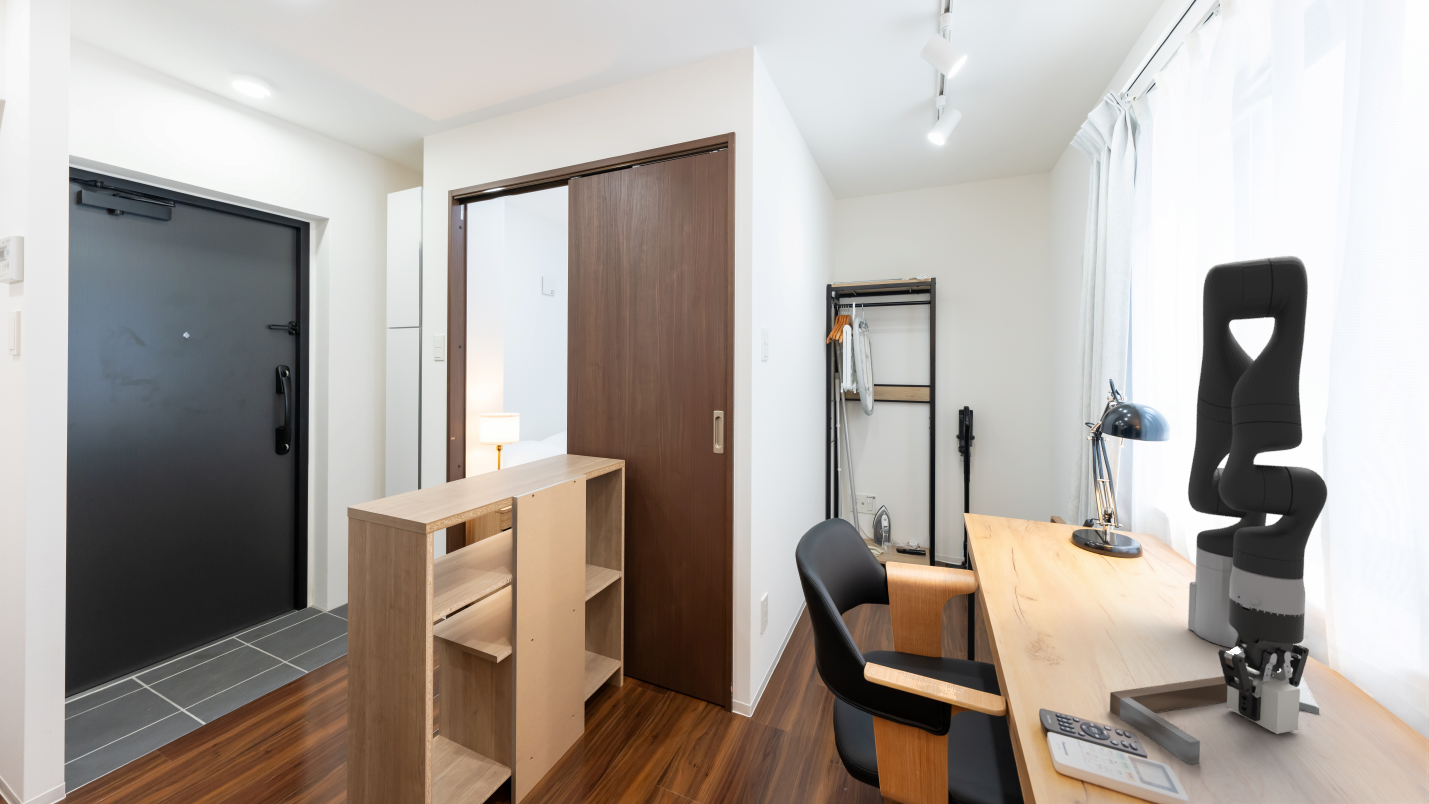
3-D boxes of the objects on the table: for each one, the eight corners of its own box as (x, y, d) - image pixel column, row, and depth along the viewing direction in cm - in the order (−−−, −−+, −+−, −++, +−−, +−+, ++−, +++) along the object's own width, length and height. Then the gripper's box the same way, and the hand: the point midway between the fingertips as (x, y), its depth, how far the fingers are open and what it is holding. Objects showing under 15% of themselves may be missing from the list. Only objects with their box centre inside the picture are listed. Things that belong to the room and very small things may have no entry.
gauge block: (1226, 707, 78) (1228, 668, 78) (1247, 704, 79) (1248, 665, 79) (1276, 733, 72) (1278, 692, 72) (1298, 729, 73) (1300, 688, 73)
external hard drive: (1241, 696, 83) (1232, 663, 92) (1319, 717, 77) (1300, 680, 87) (1242, 686, 83) (1232, 654, 92) (1319, 707, 77) (1301, 670, 87)
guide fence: (1109, 711, 78) (1110, 692, 78) (1239, 691, 83) (1240, 673, 83) (1189, 764, 67) (1190, 742, 67) (1333, 738, 72) (1334, 718, 72)
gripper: (1270, 587, 80) (1266, 694, 81) (1198, 594, 77) (1194, 705, 78) (1337, 607, 73) (1332, 725, 73) (1259, 617, 70) (1255, 739, 71)
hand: (1261, 714), depth 76 cm, fingers closed on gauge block, 4 cm apart
